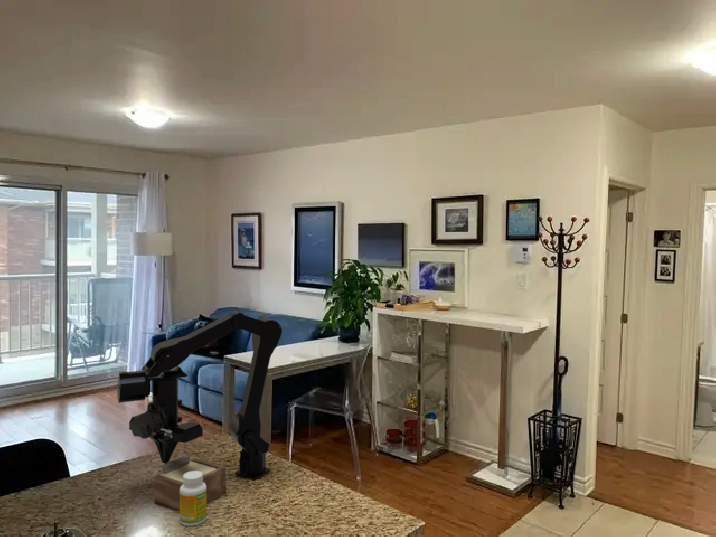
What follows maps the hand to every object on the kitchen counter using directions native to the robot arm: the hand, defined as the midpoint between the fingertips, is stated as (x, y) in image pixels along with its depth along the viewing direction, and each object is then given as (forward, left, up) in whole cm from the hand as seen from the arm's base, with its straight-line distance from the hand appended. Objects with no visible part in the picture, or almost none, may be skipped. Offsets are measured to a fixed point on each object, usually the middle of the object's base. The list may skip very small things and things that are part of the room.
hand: (165, 462), depth 130 cm
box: (0, +8, -7) cm, 11 cm away
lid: (0, +7, -1) cm, 8 cm away
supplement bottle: (+7, +16, -7) cm, 19 cm away
